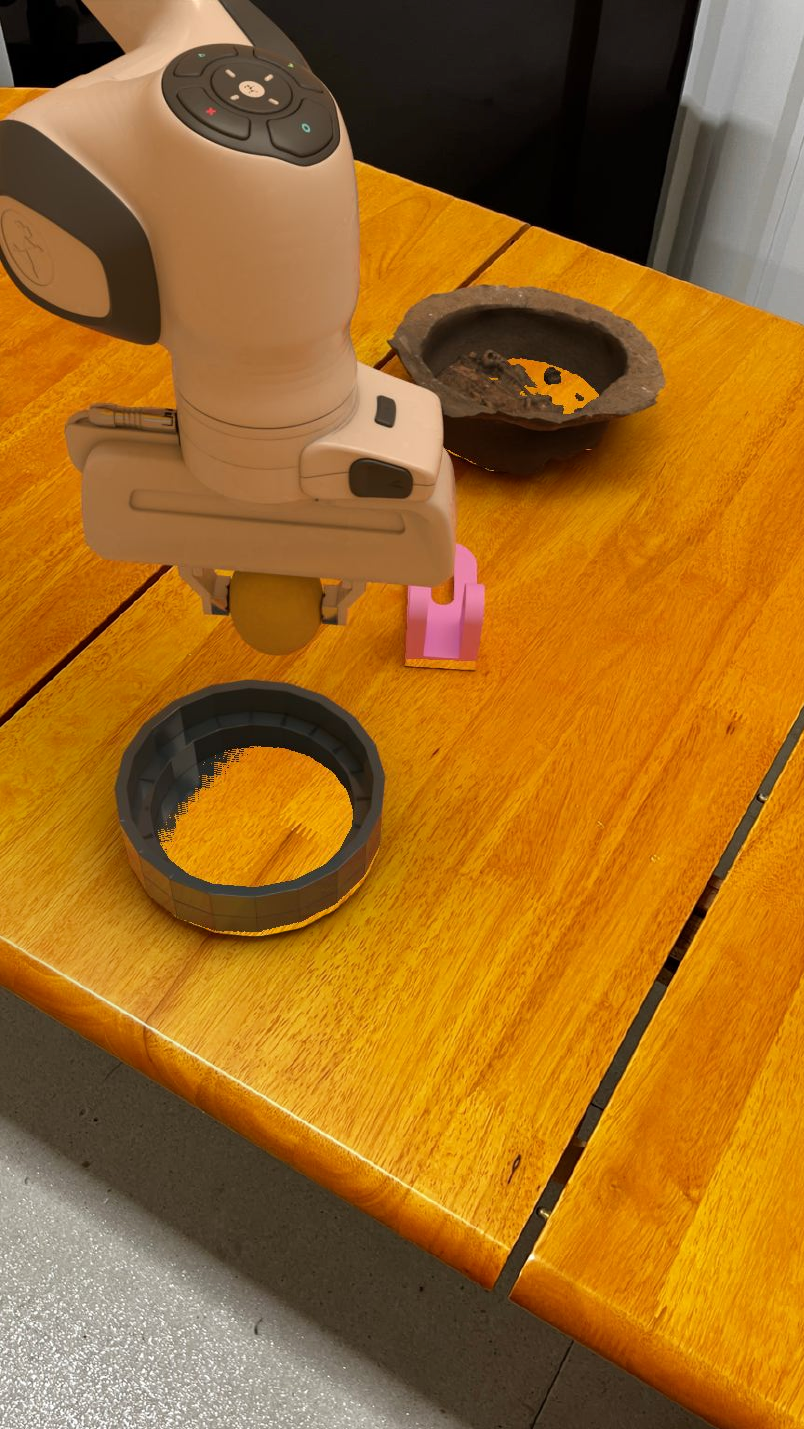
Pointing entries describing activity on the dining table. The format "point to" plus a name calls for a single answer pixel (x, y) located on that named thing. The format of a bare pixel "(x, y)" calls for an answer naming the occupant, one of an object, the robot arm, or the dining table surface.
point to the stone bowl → (523, 371)
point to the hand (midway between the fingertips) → (277, 612)
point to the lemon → (275, 610)
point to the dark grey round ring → (194, 734)
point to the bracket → (447, 616)
